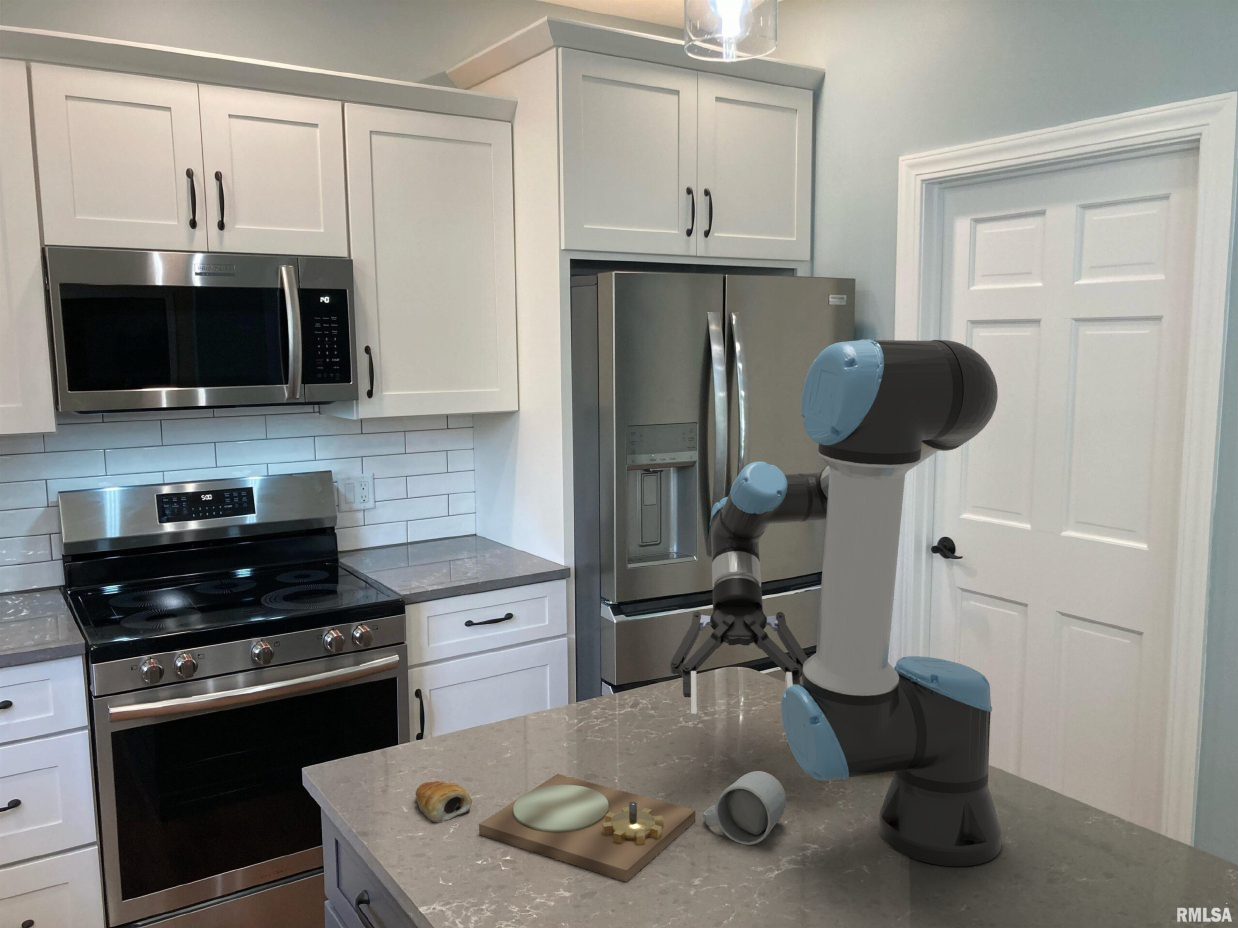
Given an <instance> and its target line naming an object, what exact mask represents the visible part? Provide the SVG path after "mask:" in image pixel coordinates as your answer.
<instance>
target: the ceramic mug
mask: <svg viewBox="0 0 1238 928" xmlns="http://www.w3.org/2000/svg"><path fill="white" fill-rule="evenodd" d="M786 806H787V795H786V791H785V789H784V787H783V785H782V783H781V782H780V780H778V779H777V777H775V776H774V775H772V774H771V773H769V772H766V771H762V770H756V771H755V770H754V771H751V772H748V773H746V774H743V775H742V776H740V777H739V778H738V779H737V780H736V781H735V782H733V783H732V784H730V785H729V786H728V787H727V788H725V789H724V790H723V791H722V792H721V794H720V795H719V796H718V799H717V801H716V804H714V805H711V806H710V807H709V808H707V809H706V810H705V811H704V812H703V814H702V816H703V819H704V822H705V825H707V826H708V827H716V826H719V827H720V829H721V831H722V832H723V834H725V835H726V837H727V838H729V839H730V840H732V841H734V842H736V843H737V844H742V845H745V846H746V845H747V846H751V845H756V844H759V843H760V842H762V841H763V840H764V839H765V838H767V836H768V835H769V834H770V832H771V831H772V829H773V828H774V827H775V826H776V824H777V823H778V822H779V821H780V819H781V818H782V816H783V815H784V812H785V809H786Z"/></svg>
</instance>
